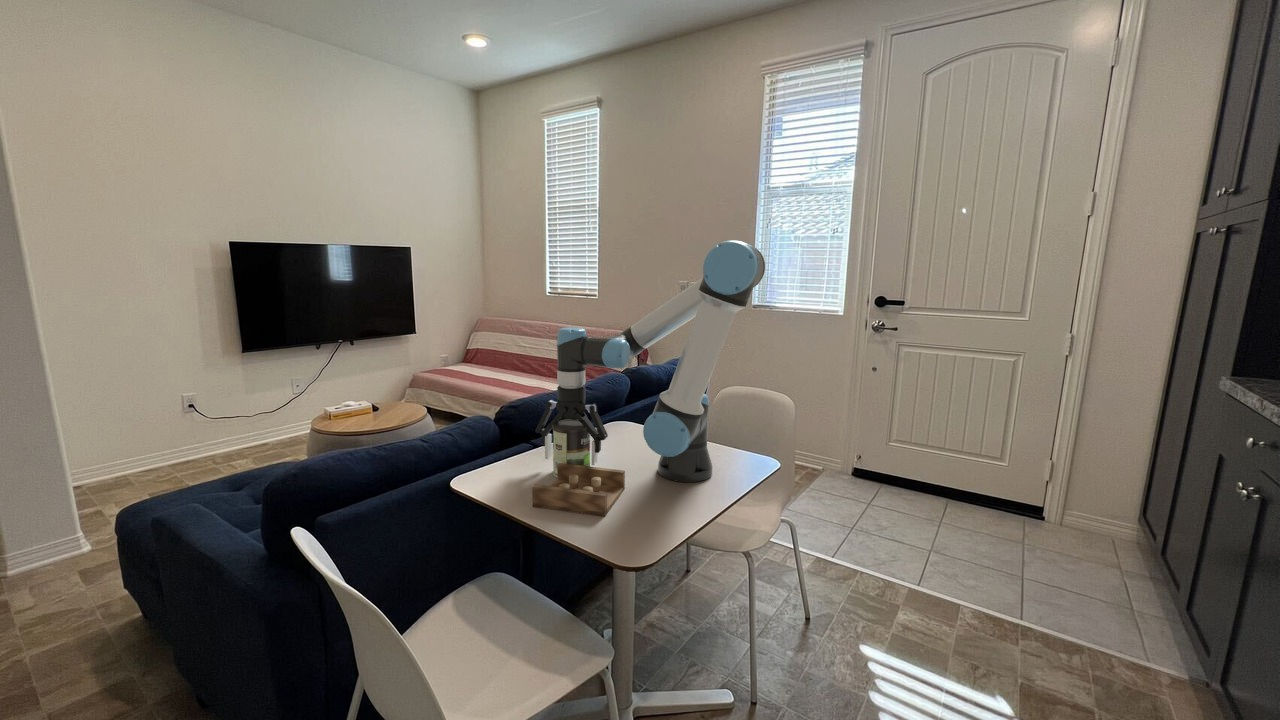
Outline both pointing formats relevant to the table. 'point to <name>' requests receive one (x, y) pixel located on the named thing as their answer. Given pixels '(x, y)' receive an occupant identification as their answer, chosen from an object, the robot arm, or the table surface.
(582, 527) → the table surface
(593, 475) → the wooden tray
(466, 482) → the table surface
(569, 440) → the coffee can
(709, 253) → the robot arm
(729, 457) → the table surface
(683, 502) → the table surface
